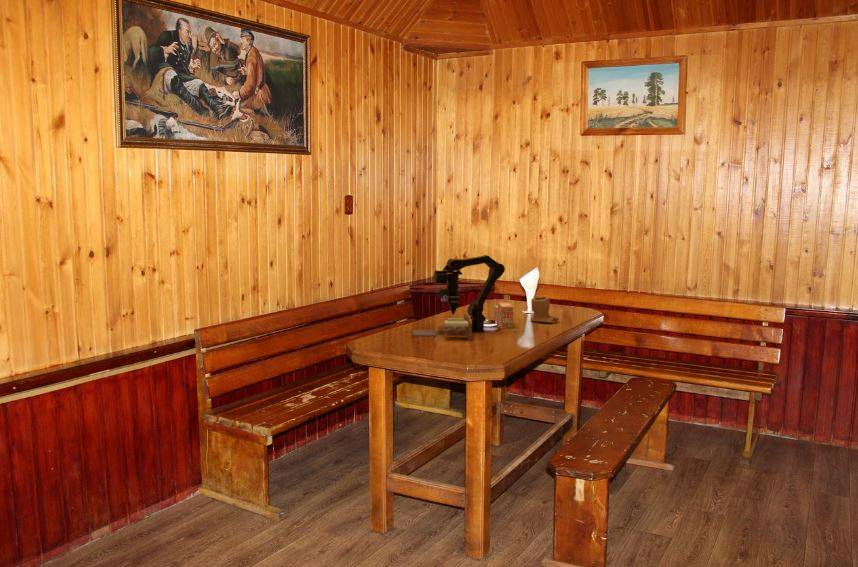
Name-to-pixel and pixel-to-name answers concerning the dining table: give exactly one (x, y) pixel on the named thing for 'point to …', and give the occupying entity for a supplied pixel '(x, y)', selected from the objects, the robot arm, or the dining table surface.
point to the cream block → (451, 327)
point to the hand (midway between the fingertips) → (452, 312)
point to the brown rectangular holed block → (458, 329)
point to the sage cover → (456, 322)
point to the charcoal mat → (424, 333)
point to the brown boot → (542, 310)
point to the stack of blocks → (504, 315)
